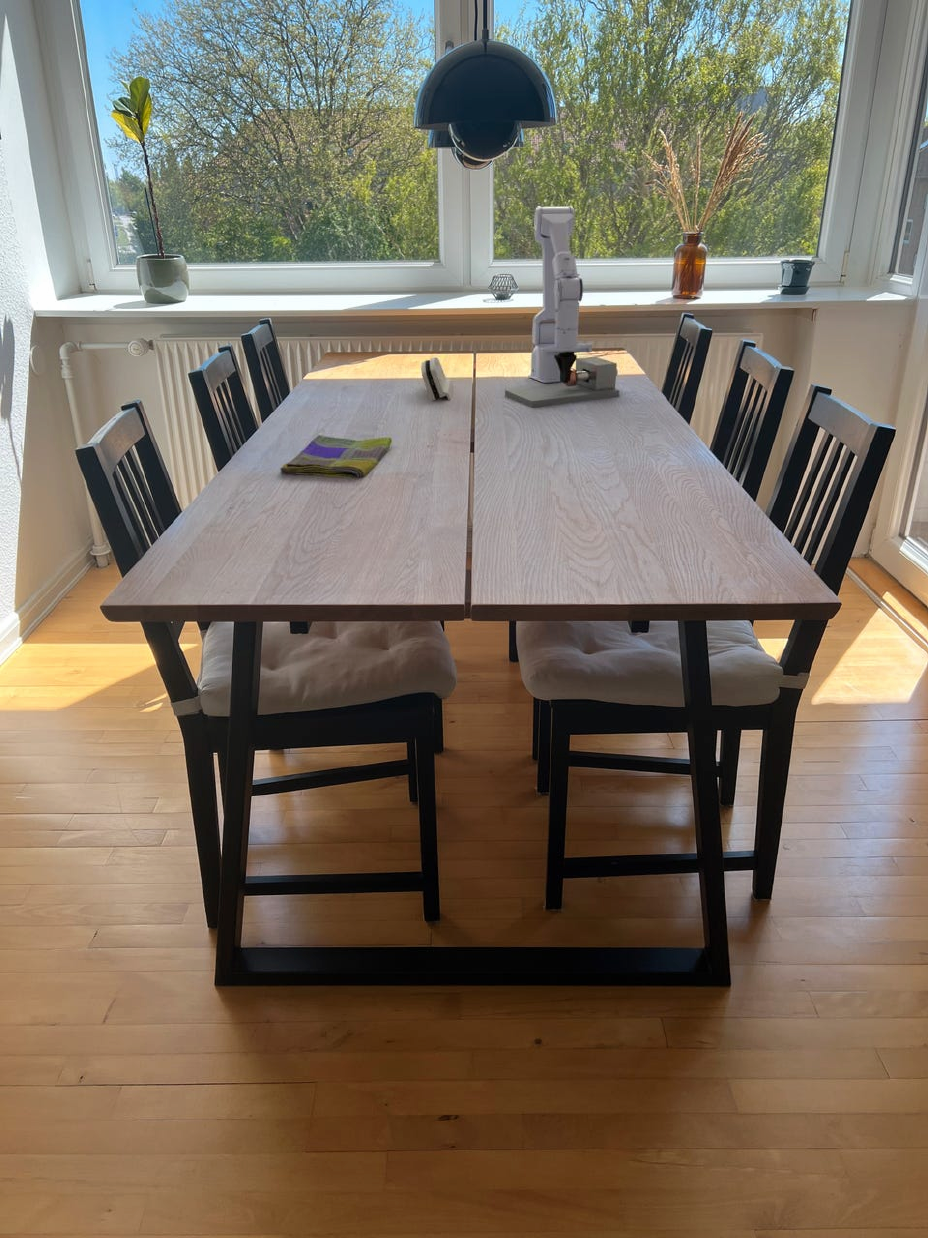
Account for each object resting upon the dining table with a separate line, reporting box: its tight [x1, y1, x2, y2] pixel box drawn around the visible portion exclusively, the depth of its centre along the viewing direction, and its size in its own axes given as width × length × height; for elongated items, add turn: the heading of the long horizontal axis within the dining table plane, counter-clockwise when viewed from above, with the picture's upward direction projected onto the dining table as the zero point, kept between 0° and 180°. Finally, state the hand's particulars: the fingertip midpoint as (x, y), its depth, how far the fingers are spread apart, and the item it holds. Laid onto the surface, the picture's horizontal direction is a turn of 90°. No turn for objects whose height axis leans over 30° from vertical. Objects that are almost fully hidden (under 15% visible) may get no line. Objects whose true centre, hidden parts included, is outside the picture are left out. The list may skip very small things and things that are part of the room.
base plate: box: [504, 382, 620, 408], centre depth 241 cm, size 14×26×2 cm, turn 116°
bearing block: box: [575, 356, 618, 391], centre depth 243 cm, size 10×6×6 cm, turn 26°
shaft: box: [565, 368, 619, 387], centre depth 243 cm, size 4×15×4 cm, turn 116°
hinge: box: [420, 357, 454, 401], centre depth 244 cm, size 17×5×10 cm, turn 178°
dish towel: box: [279, 434, 393, 479], centre depth 192 cm, size 18×24×3 cm
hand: (564, 382), depth 240 cm, fingers closed
